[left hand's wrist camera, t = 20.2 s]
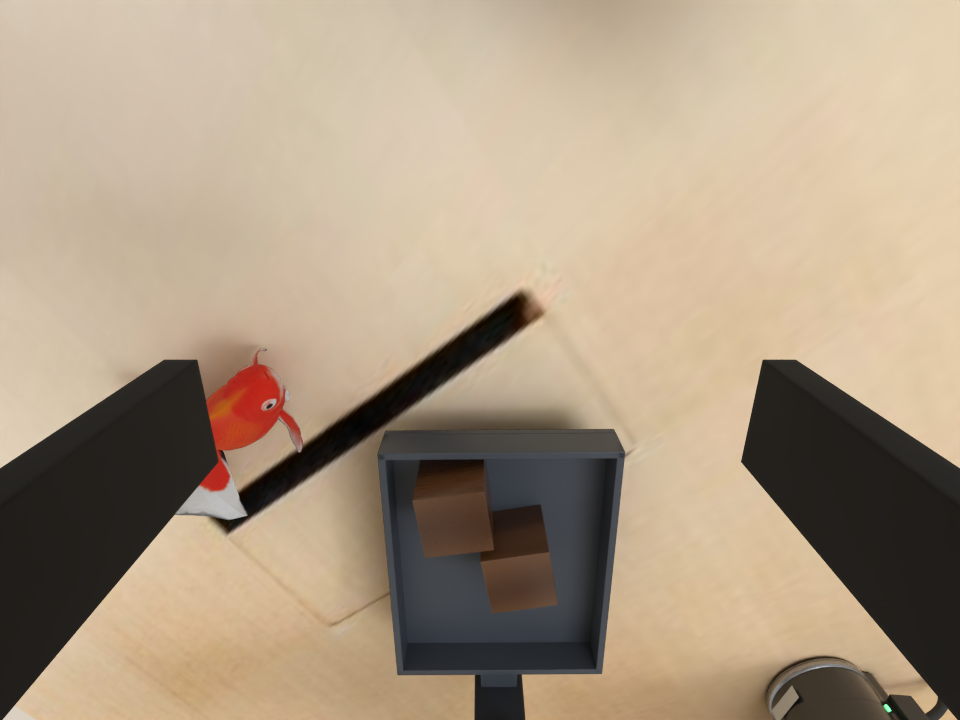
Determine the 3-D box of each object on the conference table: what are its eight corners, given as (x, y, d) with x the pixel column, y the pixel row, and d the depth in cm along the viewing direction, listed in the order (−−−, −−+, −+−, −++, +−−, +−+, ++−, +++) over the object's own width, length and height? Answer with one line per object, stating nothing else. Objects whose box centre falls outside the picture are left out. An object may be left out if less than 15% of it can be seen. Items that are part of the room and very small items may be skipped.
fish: (373, 467, 36) (244, 542, 28) (255, 499, 45) (131, 563, 37) (313, 322, 36) (165, 355, 28) (206, 383, 45) (70, 422, 37)
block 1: (420, 457, 37) (411, 500, 32) (483, 449, 37) (484, 492, 32) (431, 510, 39) (425, 558, 34) (492, 502, 38) (494, 550, 34)
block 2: (480, 513, 39) (480, 562, 34) (541, 504, 39) (549, 552, 34) (490, 561, 40) (491, 613, 36) (549, 552, 40) (558, 605, 35)
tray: (385, 430, 37) (353, 523, 28) (614, 428, 37) (659, 521, 28) (406, 684, 46) (387, 819, 37) (589, 683, 46) (617, 817, 37)
